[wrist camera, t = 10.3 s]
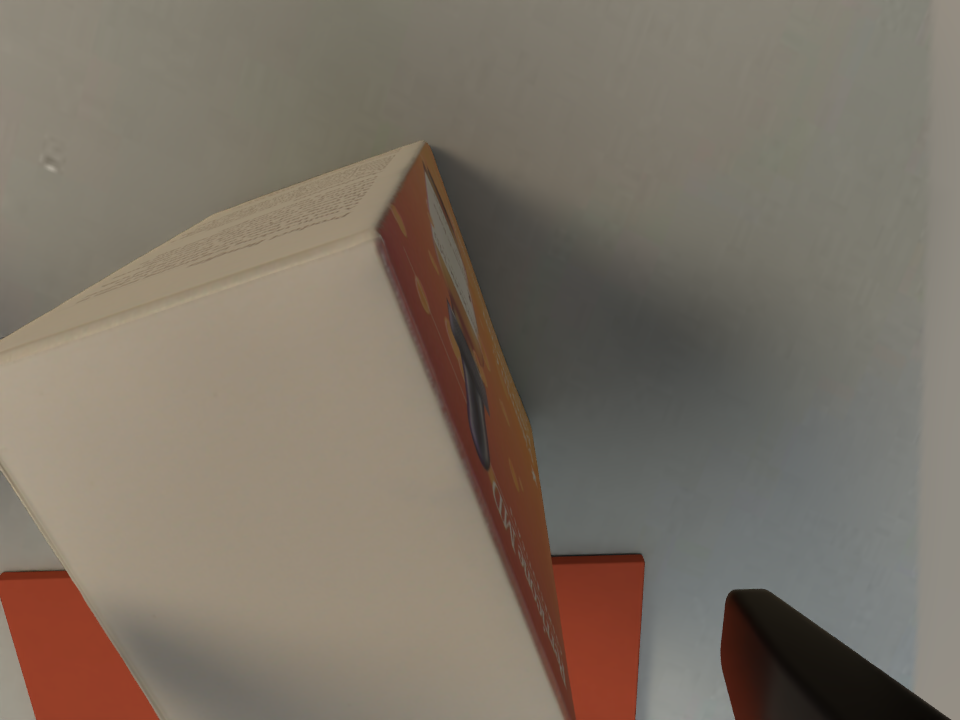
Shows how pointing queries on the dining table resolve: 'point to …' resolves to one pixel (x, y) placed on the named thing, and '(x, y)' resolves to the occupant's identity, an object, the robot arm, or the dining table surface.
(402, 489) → the small box
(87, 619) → the tea towel
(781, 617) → the robot arm
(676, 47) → the dining table surface
